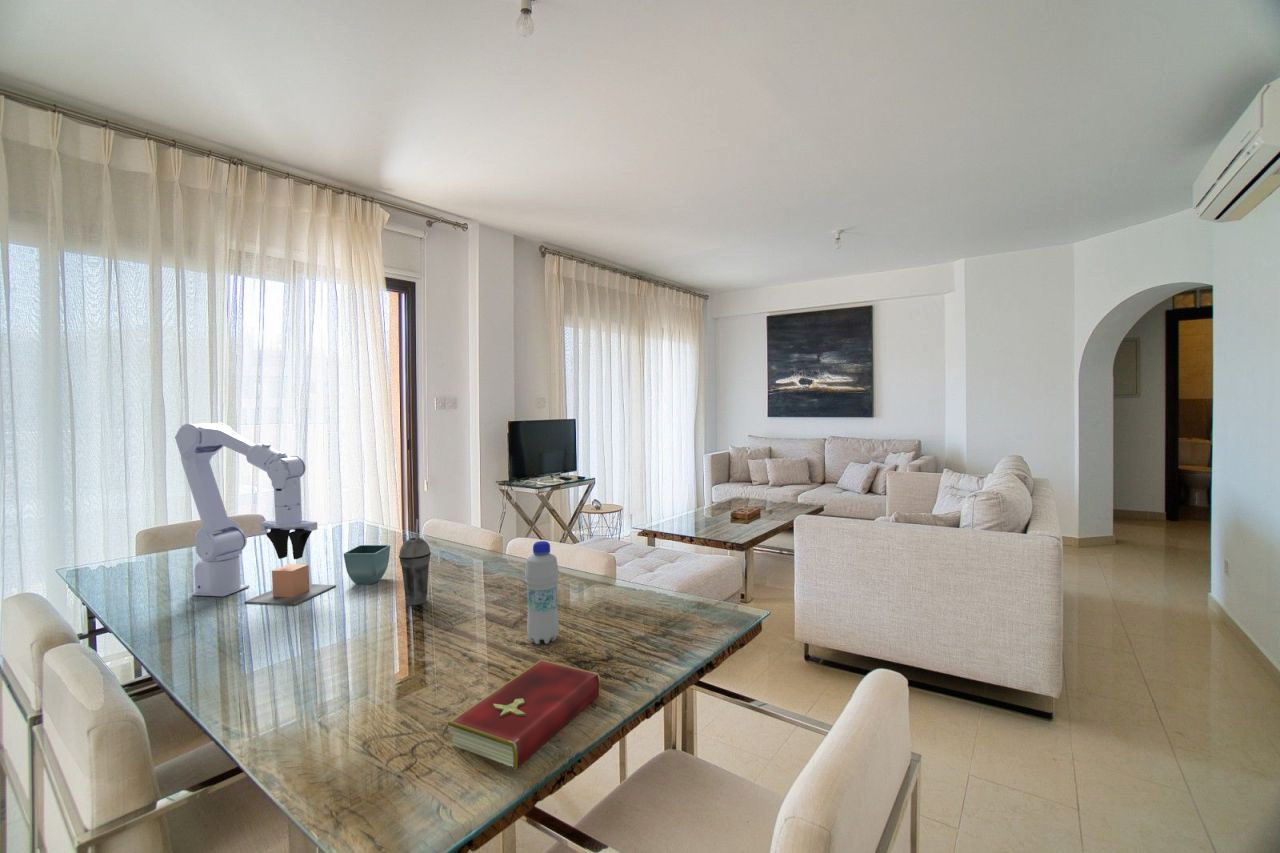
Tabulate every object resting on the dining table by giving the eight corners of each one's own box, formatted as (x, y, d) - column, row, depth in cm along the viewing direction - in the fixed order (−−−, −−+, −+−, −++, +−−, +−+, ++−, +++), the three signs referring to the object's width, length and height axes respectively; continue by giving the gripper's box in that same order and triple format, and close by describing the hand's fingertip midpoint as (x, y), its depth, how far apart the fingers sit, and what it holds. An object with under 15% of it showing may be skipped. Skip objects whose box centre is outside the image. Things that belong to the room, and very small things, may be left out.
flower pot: (376, 586, 148) (375, 553, 147) (343, 587, 148) (342, 553, 148) (392, 576, 156) (391, 544, 156) (360, 576, 157) (359, 545, 156)
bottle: (565, 635, 115) (563, 538, 114) (550, 648, 109) (547, 546, 108) (537, 631, 117) (534, 536, 116) (519, 644, 111) (517, 544, 110)
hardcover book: (601, 697, 91) (600, 672, 91) (516, 774, 73) (515, 742, 72) (541, 681, 97) (541, 657, 97) (448, 749, 78) (447, 719, 78)
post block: (244, 603, 137) (243, 581, 137) (289, 584, 151) (288, 564, 150) (295, 605, 134) (294, 583, 134) (335, 586, 148) (335, 566, 148)
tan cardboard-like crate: (272, 596, 140) (271, 570, 140) (290, 589, 146) (289, 564, 145) (292, 597, 139) (291, 571, 139) (309, 589, 145) (308, 564, 144)
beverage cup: (393, 605, 134) (390, 522, 133) (416, 595, 141) (413, 516, 140) (417, 608, 131) (414, 524, 130) (439, 598, 138) (436, 517, 137)
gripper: (249, 507, 139) (252, 561, 139) (301, 508, 136) (303, 563, 137) (272, 502, 146) (275, 553, 146) (322, 503, 143) (324, 555, 144)
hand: (290, 558), depth 142 cm, fingers open, 4 cm apart
